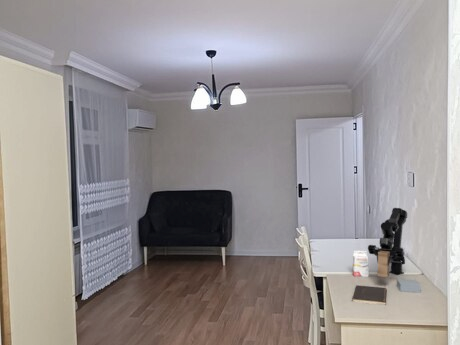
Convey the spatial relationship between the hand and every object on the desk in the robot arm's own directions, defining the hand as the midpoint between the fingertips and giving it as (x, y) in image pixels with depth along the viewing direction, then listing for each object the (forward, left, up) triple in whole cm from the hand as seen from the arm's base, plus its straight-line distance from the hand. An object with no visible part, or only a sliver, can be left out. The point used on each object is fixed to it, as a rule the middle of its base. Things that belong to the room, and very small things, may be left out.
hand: (383, 263), depth 252 cm
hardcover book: (+17, +5, -14) cm, 23 cm away
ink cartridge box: (-9, -24, -14) cm, 29 cm away
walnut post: (-1, -1, -7) cm, 7 cm away
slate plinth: (-9, +9, -13) cm, 19 cm away
